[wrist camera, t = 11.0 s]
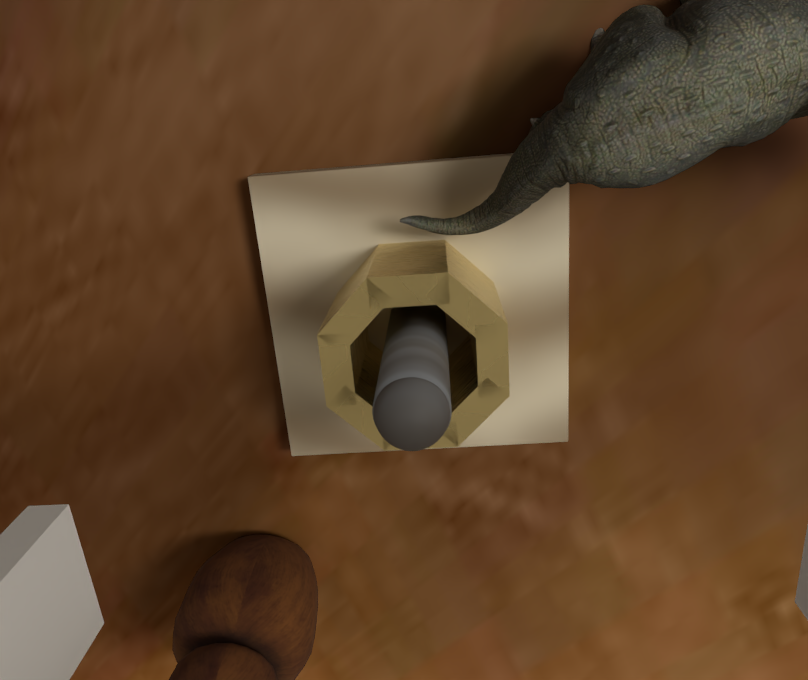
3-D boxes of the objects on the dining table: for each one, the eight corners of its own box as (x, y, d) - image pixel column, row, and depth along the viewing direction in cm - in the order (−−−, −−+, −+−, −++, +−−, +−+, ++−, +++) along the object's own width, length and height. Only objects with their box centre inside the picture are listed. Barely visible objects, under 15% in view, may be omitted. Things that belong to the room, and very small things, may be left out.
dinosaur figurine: (408, 231, 31) (396, 299, 21) (368, 39, 28) (330, 4, 18) (899, 131, 29) (1171, 151, 18) (909, -88, 26) (1236, -215, 15)
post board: (254, 174, 30) (142, 221, 18) (563, 149, 29) (652, 181, 18) (296, 444, 35) (227, 618, 23) (563, 430, 34) (633, 603, 22)
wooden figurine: (210, 594, 39) (82, 879, 24) (211, 511, 37) (73, 770, 22) (324, 608, 39) (263, 901, 24) (332, 526, 37) (270, 793, 23)
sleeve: (332, 247, 30) (309, 281, 24) (492, 236, 29) (506, 268, 24) (349, 391, 32) (332, 453, 27) (497, 383, 32) (510, 444, 26)
